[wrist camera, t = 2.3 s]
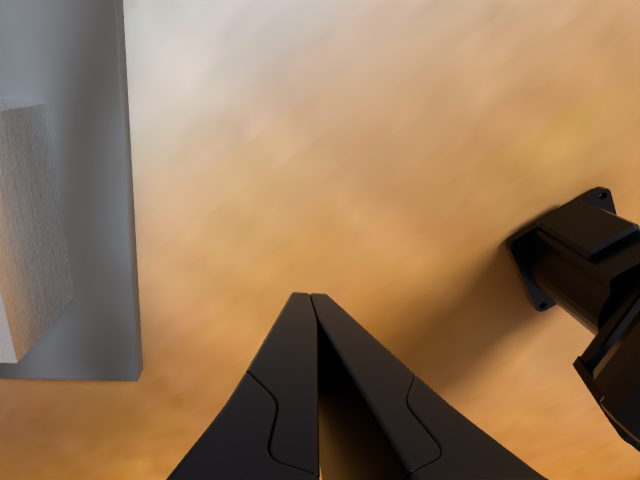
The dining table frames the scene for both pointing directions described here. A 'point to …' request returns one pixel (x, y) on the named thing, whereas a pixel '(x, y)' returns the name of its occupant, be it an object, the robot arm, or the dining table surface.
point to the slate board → (82, 180)
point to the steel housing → (29, 229)
